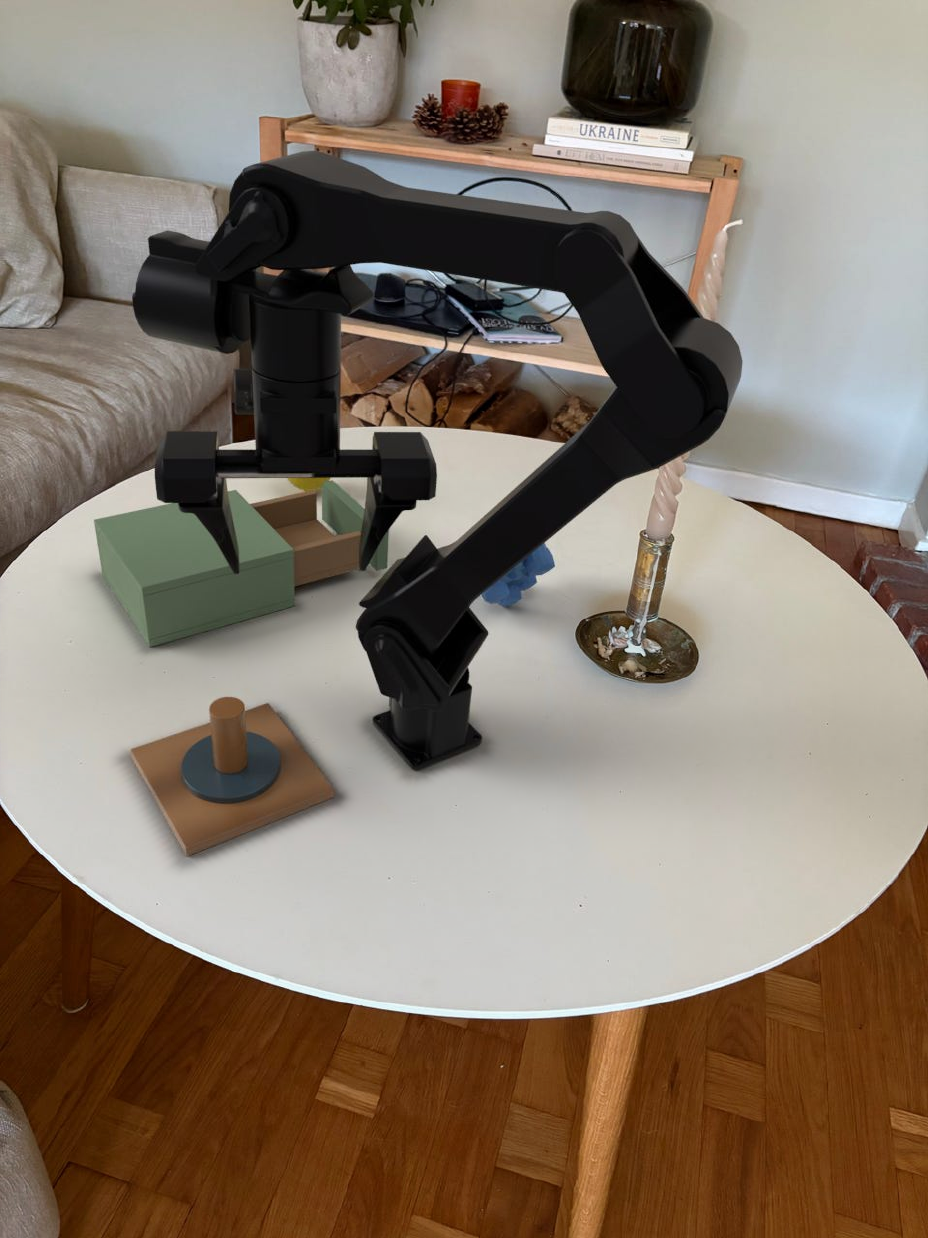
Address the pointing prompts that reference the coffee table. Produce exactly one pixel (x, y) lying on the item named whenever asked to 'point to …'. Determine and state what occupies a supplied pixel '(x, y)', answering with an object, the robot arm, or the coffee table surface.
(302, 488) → the lemon
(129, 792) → the coffee table surface
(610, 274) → the robot arm
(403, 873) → the coffee table surface
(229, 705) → the pot lid
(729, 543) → the coffee table surface
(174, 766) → the wooden peg base
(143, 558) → the cabinet
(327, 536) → the drawer
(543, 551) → the grapes
